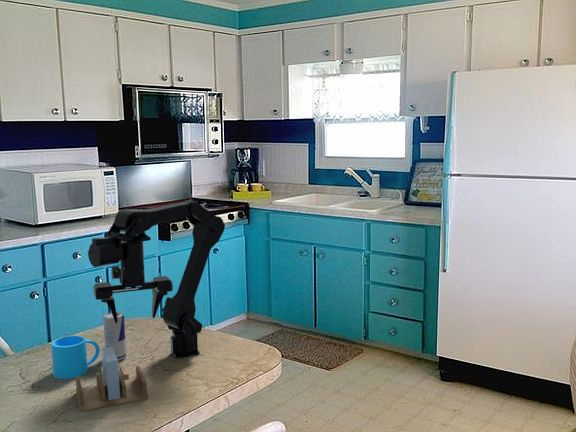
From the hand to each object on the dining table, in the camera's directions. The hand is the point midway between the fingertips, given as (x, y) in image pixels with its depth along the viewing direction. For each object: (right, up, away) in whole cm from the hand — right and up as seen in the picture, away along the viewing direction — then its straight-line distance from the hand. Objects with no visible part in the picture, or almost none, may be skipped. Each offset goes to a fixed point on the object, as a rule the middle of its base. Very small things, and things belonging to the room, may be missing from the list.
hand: (134, 320), depth 150 cm
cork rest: (-4, -14, -3) cm, 15 cm away
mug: (-15, -13, +2) cm, 20 cm away
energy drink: (-8, -12, +10) cm, 17 cm away
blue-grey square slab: (-2, -14, -13) cm, 19 cm away
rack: (-2, -15, -13) cm, 20 cm away
